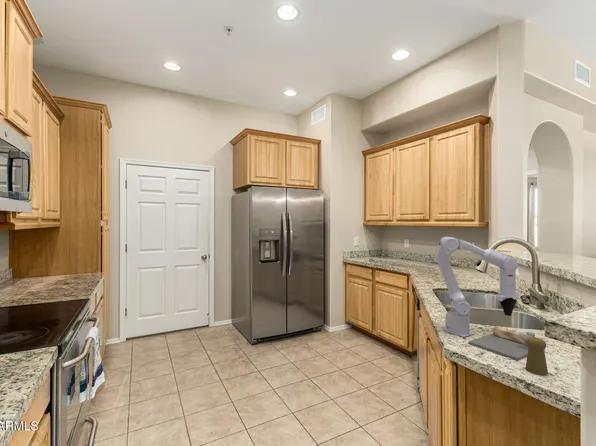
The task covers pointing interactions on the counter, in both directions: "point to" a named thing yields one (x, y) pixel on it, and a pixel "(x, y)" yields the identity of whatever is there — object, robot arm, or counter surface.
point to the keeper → (524, 335)
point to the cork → (536, 356)
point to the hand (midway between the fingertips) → (507, 315)
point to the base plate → (502, 346)
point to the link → (509, 335)
